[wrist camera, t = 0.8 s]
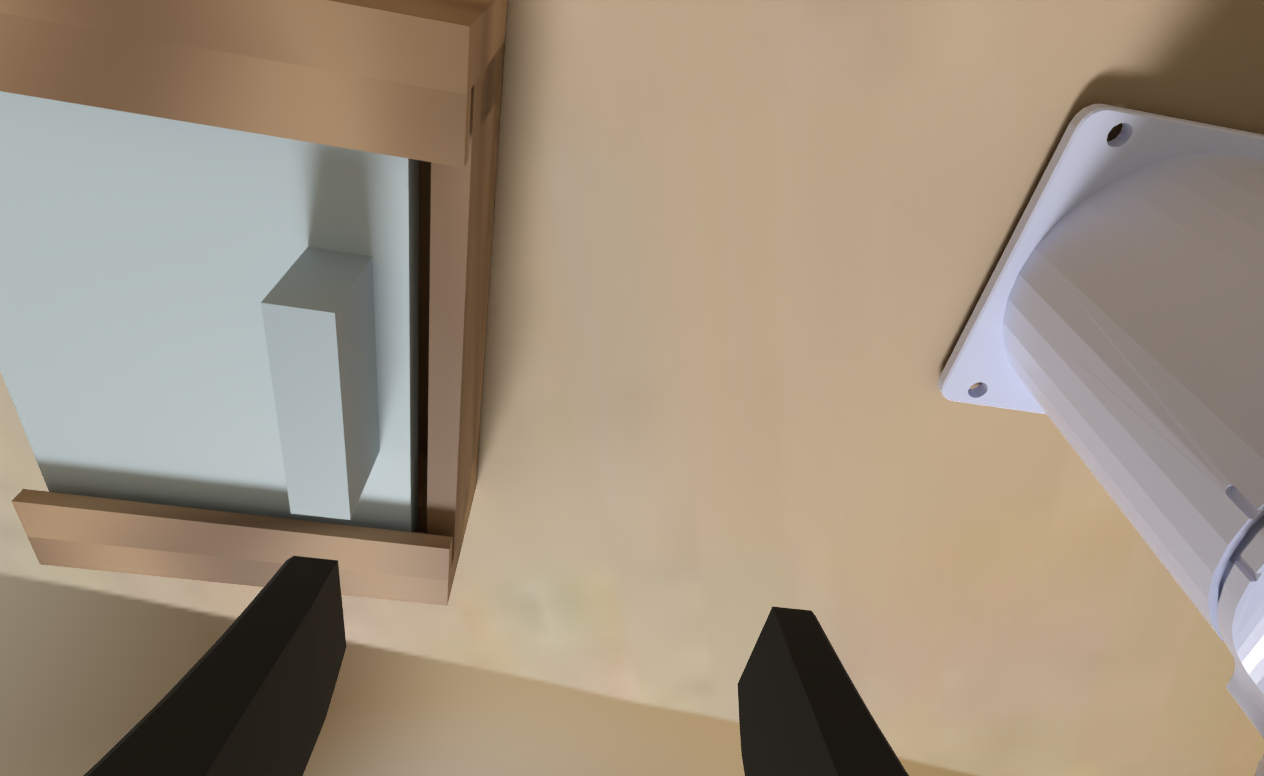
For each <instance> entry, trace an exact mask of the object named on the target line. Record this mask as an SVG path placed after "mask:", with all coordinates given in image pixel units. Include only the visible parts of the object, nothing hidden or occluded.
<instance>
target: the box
mask: <svg viewBox="0 0 1264 776" xmlns="http://www.w3.org/2000/svg"><path fill="white" fill-rule="evenodd" d="M507 2H508V0H0V91H2V92H8V93H14V94H20V95H26V96H32V97H38V98H45V99H51V100H57V101H63V102H69V103H75V104H81V105H87V106H93V107H99V108H105V109H111V110H117V111H123V112H129V113H135V114H141V115H148V116H154V117H160V118H166V119H172V120H178V121H184V122H190V123H196V124H202V125H208V126H214V127H220V128H226V129H232V130H238V131H245V132H251V133H257V134H263V135H269V136H275V137H281V138H287V139H293V140H299V141H305V142H311V143H317V144H323V145H329V146H335V147H341V148H348V149H354V150H360V151H366V152H372V153H378V154H384V155H390V156H396V157H402V158H408V159H414V160H419V296H418V526H417V530H416V533H412V532H404V531H395V530H386V529H377V528H368V527H359V526H350V525H341V524H332V523H323V522H314V521H305V520H296V519H287V518H278V517H269V516H260V515H251V514H242V513H233V512H224V511H215V510H206V509H197V508H188V507H179V506H170V505H161V504H152V503H143V502H134V501H125V500H116V499H107V498H99V497H90V496H81V495H72V494H63V493H54V492H45V491H36V490H27V489H23V490H22V491H21V492H20V493H19V494H18V495H17V496H16V497H15V498H14V499H13V500H12V503H13V505H14V508H15V510H16V512H17V514H18V516H19V519H20V521H21V523H22V525H23V527H24V530H25V532H26V534H27V536H28V539H29V541H30V543H31V545H32V547H33V550H34V552H35V554H36V556H37V558H38V561H39V563H40V564H43V565H53V566H63V567H73V568H83V569H92V570H102V571H112V572H122V573H132V574H142V575H152V576H161V577H171V578H181V579H191V580H201V581H211V582H221V583H230V584H240V585H250V586H260V587H265V586H266V584H267V583H268V582H269V581H270V580H271V578H272V577H273V576H274V575H275V573H276V572H277V571H278V570H279V569H280V567H281V566H282V565H283V564H284V562H285V561H286V560H288V559H289V558H291V557H292V556H302V557H311V558H320V559H330V560H338V566H339V576H340V587H341V595H349V596H358V597H368V598H378V599H388V600H398V601H408V602H418V603H427V604H437V605H448V600H449V596H450V592H451V588H452V584H453V580H454V576H455V572H456V567H457V563H458V559H459V555H460V551H461V547H462V543H463V538H464V534H465V530H466V526H467V522H468V518H469V514H470V510H471V505H472V501H473V497H474V493H475V489H476V479H477V464H478V448H479V433H480V418H481V402H482V387H483V372H484V356H485V341H486V325H487V310H488V295H489V279H490V264H491V248H492V233H493V218H494V202H495V187H496V172H497V156H498V141H499V125H500V110H501V95H502V79H503V64H504V49H505V33H506V18H507Z"/></svg>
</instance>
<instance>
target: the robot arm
mask: <svg viewBox="0 0 1264 776" xmlns="http://www.w3.org/2000/svg"><path fill="white" fill-rule="evenodd" d="M1120 123H1122V125H1123V126H1122V129H1121V132H1120V133H1119V135H1118V136H1117V137H1116V138H1115V139H1113V140H1111V141H1108V142H1107V136H1108V133H1109V132H1110V131H1111V129H1112V128H1113V127H1114V126H1116V125H1118V124H1120ZM978 382H981V384H980V385H979V386H978V387H976V388H974V389H969V388H970V387H971V386H972V385H973V384H975V383H978ZM938 387H939V390H940V391H941V393H942V395H943V396H944V397H945V398H946V399H948V400H951V401H956V402H963V403H970V404H977V405H984V406H991V407H999V408H1006V409H1013V410H1020V411H1027V412H1034V413H1041V414H1047V415H1048V417H1049V418H1050V419H1051V420H1052V422H1053V423H1054V424H1055V426H1056V427H1057V428H1058V429H1059V431H1060V432H1061V433H1062V435H1063V436H1064V437H1065V438H1066V440H1067V441H1068V442H1069V444H1070V445H1071V446H1072V448H1073V449H1074V450H1075V451H1076V453H1077V454H1078V455H1079V457H1080V458H1081V459H1082V460H1083V462H1084V463H1085V464H1086V466H1087V467H1088V468H1089V469H1090V471H1091V472H1092V473H1093V475H1094V476H1095V477H1096V478H1097V480H1098V481H1099V482H1100V484H1101V485H1102V486H1103V488H1104V489H1105V490H1106V491H1107V493H1108V494H1109V495H1110V497H1111V498H1112V499H1113V500H1114V502H1115V503H1116V504H1117V506H1118V507H1119V508H1120V509H1121V511H1122V512H1123V513H1124V515H1125V516H1126V517H1127V518H1128V520H1129V521H1130V522H1131V524H1132V525H1133V526H1134V528H1135V529H1136V530H1137V531H1138V533H1139V534H1140V535H1141V537H1142V538H1143V539H1144V540H1145V542H1146V543H1147V544H1148V546H1149V547H1150V548H1151V549H1152V551H1153V552H1154V553H1155V555H1156V556H1157V557H1158V558H1159V560H1160V561H1161V562H1162V564H1163V565H1164V566H1165V567H1166V569H1167V570H1168V571H1169V573H1170V574H1171V575H1172V577H1173V578H1174V579H1175V580H1176V582H1177V583H1178V584H1179V586H1180V587H1181V588H1182V589H1183V591H1184V592H1185V593H1186V595H1187V596H1188V597H1189V598H1190V600H1191V601H1192V602H1193V604H1194V605H1195V606H1196V607H1197V609H1198V610H1199V611H1200V613H1201V614H1202V615H1203V617H1204V618H1205V619H1206V620H1207V622H1208V623H1209V624H1210V626H1211V627H1212V628H1213V629H1214V631H1215V632H1216V633H1217V635H1218V636H1219V637H1220V638H1221V640H1223V641H1224V642H1225V644H1226V645H1227V647H1228V648H1229V650H1230V652H1231V654H1232V655H1233V657H1234V659H1235V670H1234V674H1233V675H1232V677H1231V678H1230V680H1229V682H1228V684H1227V687H1226V688H1227V689H1228V691H1229V692H1230V693H1231V695H1232V696H1233V697H1234V699H1235V700H1236V701H1237V703H1238V704H1239V706H1240V707H1241V708H1242V710H1243V711H1244V712H1245V714H1246V715H1247V716H1248V718H1249V719H1250V720H1251V722H1252V723H1253V725H1254V726H1255V727H1256V729H1257V730H1258V731H1259V733H1260V734H1261V735H1262V737H1263V738H1264V135H1263V134H1258V133H1253V132H1248V131H1242V130H1237V129H1232V128H1227V127H1221V126H1216V125H1211V124H1206V123H1201V122H1195V121H1190V120H1185V119H1180V118H1175V117H1169V116H1164V115H1159V114H1154V113H1149V112H1143V111H1138V110H1133V109H1128V108H1123V107H1117V106H1112V105H1107V104H1092V105H1090V106H1087V107H1085V108H1083V109H1082V110H1081V111H1079V112H1078V113H1077V114H1076V115H1075V116H1074V118H1073V119H1072V120H1071V122H1070V123H1069V125H1068V127H1067V129H1066V131H1065V133H1064V135H1063V137H1062V139H1061V141H1060V143H1059V145H1058V147H1057V149H1056V151H1055V153H1054V155H1053V156H1052V158H1051V160H1050V162H1049V164H1048V166H1047V168H1046V170H1045V172H1044V174H1043V176H1042V178H1041V180H1040V182H1039V184H1038V186H1037V188H1036V190H1035V192H1034V194H1033V196H1032V198H1031V199H1030V201H1029V203H1028V205H1027V207H1026V209H1025V211H1024V213H1023V215H1022V217H1021V219H1020V221H1019V223H1018V225H1017V227H1016V229H1015V231H1014V233H1013V235H1012V237H1011V239H1010V241H1009V242H1008V244H1007V246H1006V248H1005V250H1004V252H1003V254H1002V256H1001V258H1000V260H999V262H998V264H997V266H996V268H995V270H994V272H993V274H992V276H991V278H990V280H989V282H988V284H987V285H986V287H985V289H984V291H983V293H982V295H981V297H980V299H979V301H978V303H977V305H976V307H975V309H974V311H973V313H972V315H971V317H970V319H969V321H968V323H967V325H966V327H965V328H964V330H963V332H962V334H961V336H960V338H959V340H958V342H957V344H956V346H955V348H954V350H953V352H952V354H951V356H950V358H949V360H948V362H947V364H946V366H945V368H944V370H943V371H942V373H941V375H940V377H939V381H938ZM345 649H346V640H345V630H344V619H343V608H342V598H341V587H340V576H339V566H338V560H330V559H320V558H311V557H302V556H292V557H291V558H289V559H288V560H286V561H285V562H284V564H283V565H282V566H281V567H280V569H279V570H278V571H277V572H276V573H275V575H274V576H273V577H272V578H271V580H270V581H269V582H268V583H267V584H266V586H265V587H264V588H263V589H262V590H261V591H260V593H259V594H258V595H257V596H256V597H255V599H254V600H253V601H252V602H251V603H250V604H249V606H248V607H247V608H246V609H245V610H244V611H243V612H242V614H241V615H240V616H239V617H238V618H237V619H236V620H235V621H234V623H233V624H232V625H231V626H230V627H229V628H228V629H227V630H226V632H225V633H224V634H223V635H222V636H221V637H220V638H219V640H218V641H217V642H216V643H215V644H214V645H213V646H212V647H211V648H210V649H209V650H208V652H206V653H205V655H204V656H203V657H202V658H201V659H200V660H199V661H198V662H197V663H196V664H195V665H194V666H193V667H192V668H191V669H190V670H189V671H188V673H187V674H186V675H185V676H184V677H183V678H182V679H181V680H180V681H179V682H178V683H177V684H176V685H175V686H174V687H173V688H172V690H171V691H170V692H169V693H168V694H167V695H166V696H165V697H164V698H163V699H162V700H161V701H160V702H159V703H158V704H157V705H156V706H155V707H154V708H153V709H152V710H151V711H150V712H149V713H148V714H147V715H146V716H145V717H144V718H143V719H142V720H141V721H140V722H139V723H138V724H137V725H136V726H135V727H134V728H133V729H131V731H130V732H129V733H127V735H125V736H124V737H123V738H122V739H121V740H120V741H119V742H118V743H117V744H116V745H115V746H114V747H113V748H112V749H111V750H110V751H109V752H108V753H107V754H106V755H105V756H104V757H103V758H102V759H101V760H100V761H99V762H98V763H97V764H96V765H94V767H92V768H91V769H90V770H89V771H88V772H87V773H86V774H85V775H84V776H303V773H304V771H305V768H306V765H307V763H308V761H309V758H310V756H311V753H312V751H313V748H314V746H315V743H316V741H317V738H318V736H319V733H320V731H321V728H322V726H323V723H324V721H325V718H326V715H327V711H328V708H329V705H330V701H331V698H332V695H333V691H334V688H335V684H336V681H337V678H338V674H339V670H340V667H341V663H342V660H343V656H344V653H345ZM738 697H739V720H740V735H741V751H742V759H743V766H744V771H745V776H909V775H908V774H907V772H906V771H905V769H904V768H903V766H902V764H901V763H900V761H899V759H898V758H897V756H896V754H895V753H894V751H893V750H892V748H891V746H890V745H889V743H888V741H887V740H886V738H885V737H884V735H883V733H882V732H881V730H880V729H879V727H878V725H877V724H876V722H875V720H874V719H873V717H872V715H871V714H870V712H869V710H868V709H867V707H866V705H865V703H864V702H863V700H862V698H861V697H860V695H859V693H858V691H857V690H856V688H855V686H854V684H853V683H852V681H851V679H850V677H849V676H848V674H847V672H846V670H845V669H844V667H843V665H842V663H841V661H840V660H839V658H838V656H837V654H836V652H835V651H834V649H833V647H832V645H831V643H830V642H829V640H828V638H827V636H826V634H825V633H824V631H823V629H822V627H821V625H820V623H819V622H818V620H817V618H816V616H815V615H814V614H813V612H812V611H808V610H799V609H789V608H780V607H772V609H771V611H770V614H769V616H768V618H767V620H766V622H765V625H764V627H763V629H762V631H761V634H760V636H759V638H758V640H757V643H756V645H755V647H754V649H753V651H752V654H751V656H750V658H749V660H748V663H747V665H746V667H745V669H744V671H743V674H742V676H741V678H740V680H739V683H738ZM1255 776H1264V755H1263V757H1262V758H1261V760H1260V761H1259V763H1258V767H1257V770H1256V774H1255Z"/></svg>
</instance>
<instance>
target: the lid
mask: <svg viewBox="0 0 1264 776" xmlns="http://www.w3.org/2000/svg"><path fill="white" fill-rule="evenodd" d="M418 296H419V160H414V159H408V158H402V157H396V156H390V155H384V154H378V153H372V152H366V151H360V150H354V149H348V148H341V147H335V146H329V145H323V144H317V143H311V142H305V141H299V140H293V139H287V138H281V137H275V136H269V135H263V134H257V133H251V132H245V131H238V130H232V129H226V128H220V127H214V126H208V125H202V124H196V123H190V122H184V121H178V120H172V119H166V118H160V117H154V116H148V115H141V114H135V113H129V112H123V111H117V110H111V109H105V108H99V107H93V106H87V105H81V104H75V103H69V102H63V101H57V100H51V99H45V98H38V97H32V96H26V95H20V94H14V93H8V92H2V91H0V371H1V374H2V376H3V379H4V381H5V384H6V386H7V389H8V391H9V393H10V396H11V398H12V401H13V403H14V406H15V408H16V411H17V413H18V416H19V418H20V421H21V423H22V426H23V428H24V431H25V433H26V435H27V438H28V440H29V443H30V445H31V448H32V450H33V453H34V455H35V458H36V460H37V463H38V465H39V468H40V470H41V472H42V475H43V477H44V480H45V482H46V485H47V487H48V490H49V492H54V493H63V494H72V495H81V496H90V497H99V498H107V499H116V500H125V501H134V502H143V503H152V504H161V505H170V506H179V507H188V508H197V509H206V510H215V511H224V512H233V513H242V514H251V515H260V516H269V517H278V518H287V519H296V520H305V521H314V522H323V523H332V524H341V525H350V526H359V527H368V528H377V529H386V530H395V531H404V532H412V533H416V530H417V526H418Z"/></svg>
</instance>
